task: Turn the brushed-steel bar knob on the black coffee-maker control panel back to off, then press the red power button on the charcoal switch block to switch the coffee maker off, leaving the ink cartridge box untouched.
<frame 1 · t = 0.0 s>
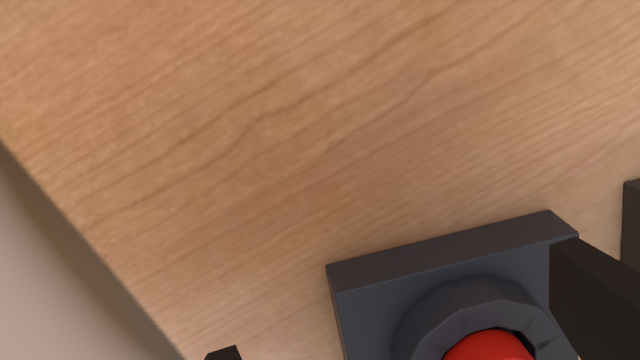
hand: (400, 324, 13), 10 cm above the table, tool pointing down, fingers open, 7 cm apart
switch block: (447, 312, 26), on the table
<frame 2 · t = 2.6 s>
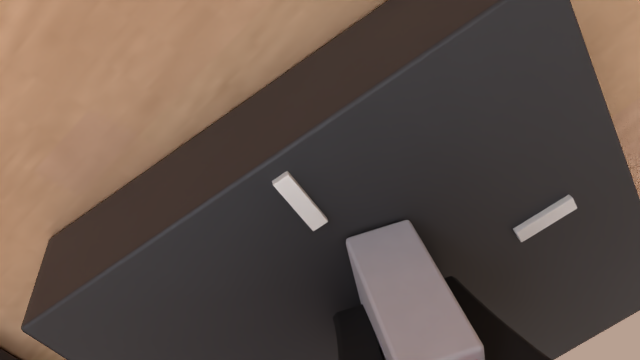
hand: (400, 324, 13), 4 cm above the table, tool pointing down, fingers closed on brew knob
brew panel: (358, 231, 15), on the table
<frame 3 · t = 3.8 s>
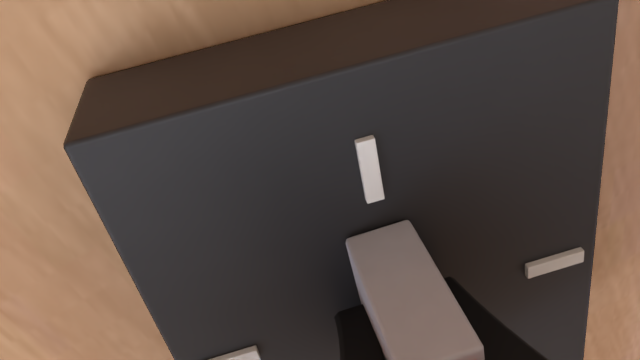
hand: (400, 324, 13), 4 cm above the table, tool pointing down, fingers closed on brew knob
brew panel: (359, 231, 15), on the table
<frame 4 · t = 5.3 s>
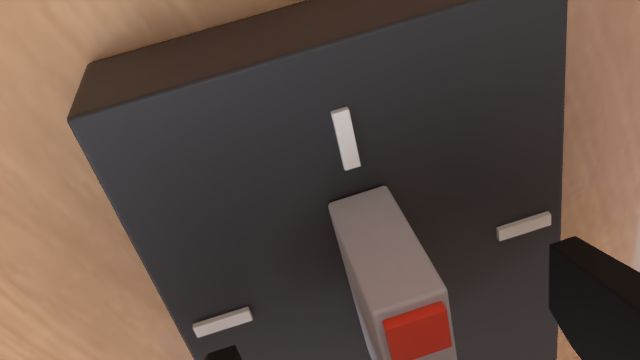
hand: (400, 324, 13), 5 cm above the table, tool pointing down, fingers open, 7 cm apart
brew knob: (400, 328, 12), point 5 cm above the table, hinge at 0.7°
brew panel: (345, 204, 16), on the table
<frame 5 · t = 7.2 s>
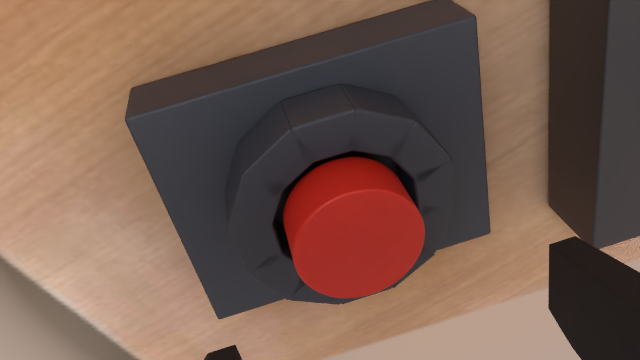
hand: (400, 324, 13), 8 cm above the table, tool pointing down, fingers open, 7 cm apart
switch block: (319, 151, 19), on the table
power button: (352, 228, 16), point 4 cm above the table, slide at 0.1 cm
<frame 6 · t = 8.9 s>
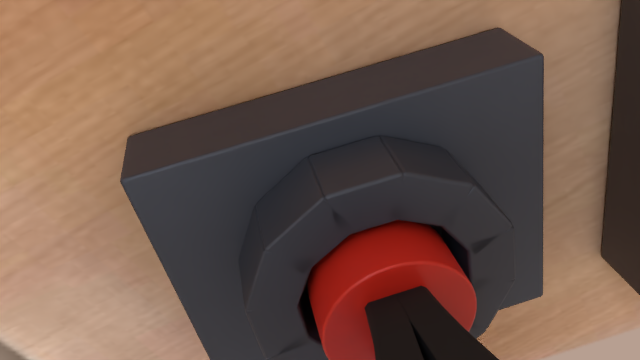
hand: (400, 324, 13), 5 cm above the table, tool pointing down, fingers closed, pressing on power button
switch block: (346, 202, 17), on the table
power button: (389, 299, 13), point 4 cm above the table, slide at -0.3 cm, touching gripper
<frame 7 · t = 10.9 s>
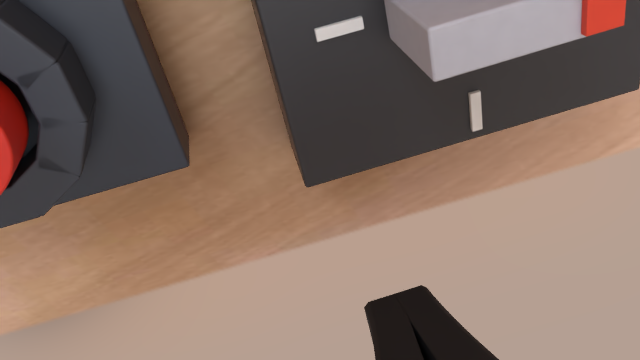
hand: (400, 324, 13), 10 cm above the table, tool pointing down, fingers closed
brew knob: (498, 9, 15), point 5 cm above the table, hinge at 0.7°
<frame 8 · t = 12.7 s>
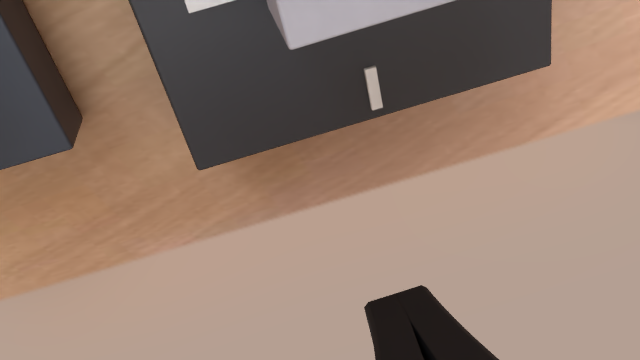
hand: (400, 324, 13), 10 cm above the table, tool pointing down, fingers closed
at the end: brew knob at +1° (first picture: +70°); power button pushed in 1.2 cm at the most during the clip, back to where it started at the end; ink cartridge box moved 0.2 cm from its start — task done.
